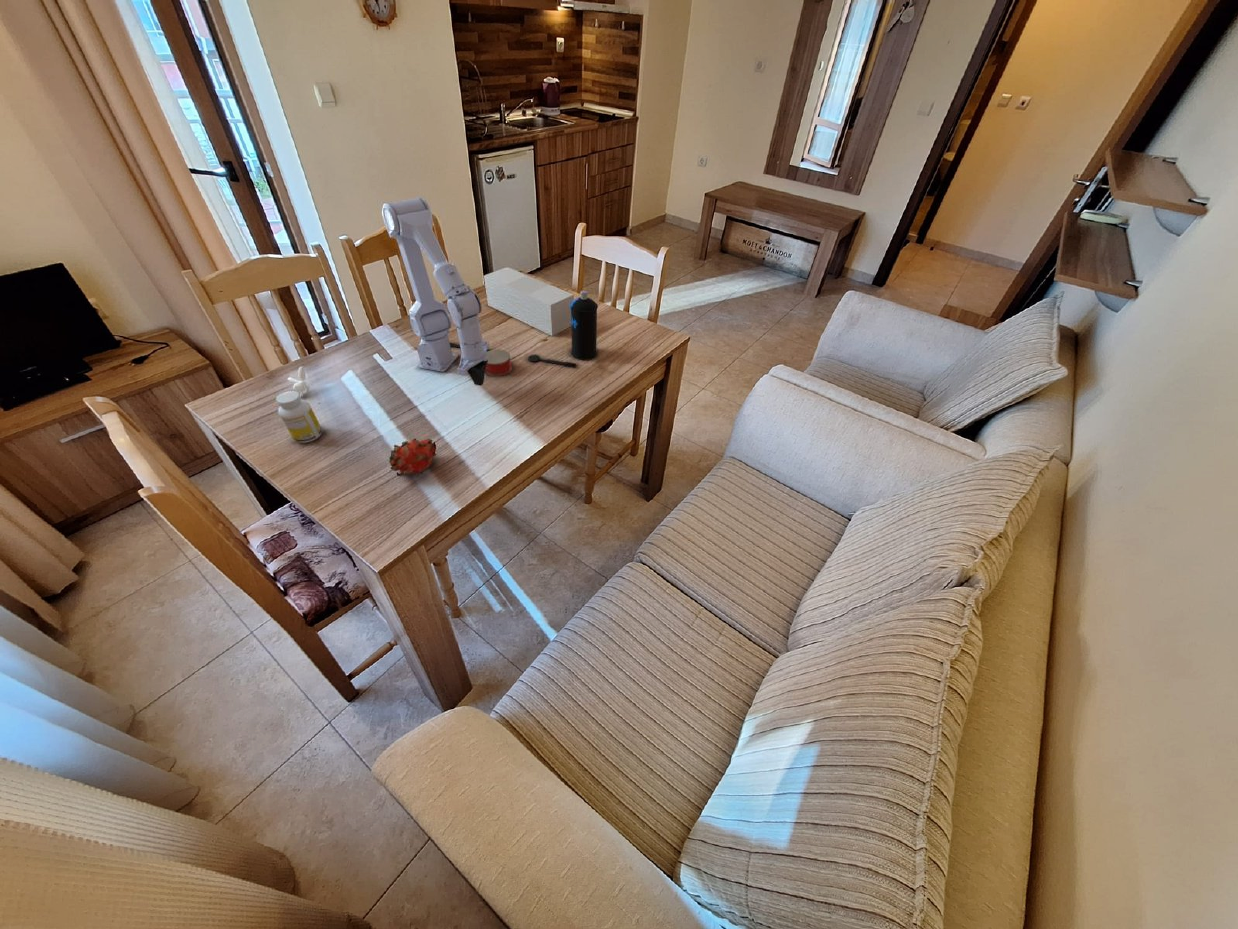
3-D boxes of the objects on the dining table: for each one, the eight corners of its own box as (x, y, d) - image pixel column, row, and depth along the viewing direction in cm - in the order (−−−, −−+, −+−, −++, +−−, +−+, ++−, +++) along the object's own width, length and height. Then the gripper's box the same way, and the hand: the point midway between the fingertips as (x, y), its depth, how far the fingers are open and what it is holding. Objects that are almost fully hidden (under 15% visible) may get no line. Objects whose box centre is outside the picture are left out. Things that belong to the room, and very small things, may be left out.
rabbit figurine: (289, 400, 126) (281, 375, 128) (303, 404, 130) (295, 379, 132) (305, 389, 125) (297, 364, 127) (318, 393, 128) (310, 368, 130)
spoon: (573, 369, 143) (573, 367, 143) (526, 361, 145) (526, 359, 145) (577, 363, 146) (577, 361, 145) (530, 355, 148) (530, 353, 147)
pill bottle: (315, 423, 120) (295, 385, 112) (328, 434, 117) (309, 396, 109) (288, 435, 116) (266, 397, 108) (301, 447, 113) (279, 408, 105)
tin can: (505, 377, 138) (503, 365, 135) (480, 373, 139) (478, 360, 136) (515, 363, 144) (514, 351, 141) (491, 359, 145) (489, 347, 142)
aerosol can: (598, 347, 153) (599, 286, 139) (595, 361, 147) (596, 299, 133) (573, 345, 153) (572, 284, 139) (568, 358, 147) (567, 296, 133)
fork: (487, 353, 147) (487, 352, 147) (442, 346, 149) (442, 345, 149) (490, 350, 149) (490, 348, 149) (446, 342, 151) (445, 341, 151)
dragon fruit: (392, 487, 108) (436, 464, 116) (409, 484, 102) (454, 460, 110) (373, 453, 106) (420, 432, 114) (389, 448, 100) (437, 426, 108)
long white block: (574, 324, 163) (573, 294, 156) (552, 336, 157) (550, 305, 149) (510, 295, 177) (507, 266, 169) (488, 305, 170) (483, 275, 163)
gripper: (472, 356, 116) (481, 401, 125) (496, 328, 126) (503, 372, 136) (446, 351, 117) (456, 396, 126) (472, 324, 127) (480, 368, 137)
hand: (479, 383), depth 131 cm, fingers closed
